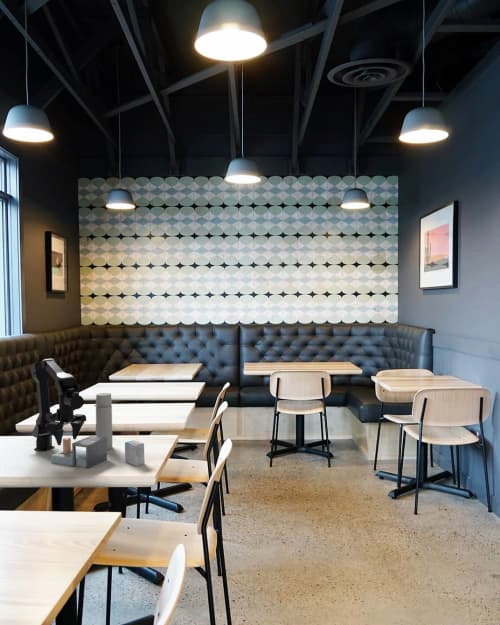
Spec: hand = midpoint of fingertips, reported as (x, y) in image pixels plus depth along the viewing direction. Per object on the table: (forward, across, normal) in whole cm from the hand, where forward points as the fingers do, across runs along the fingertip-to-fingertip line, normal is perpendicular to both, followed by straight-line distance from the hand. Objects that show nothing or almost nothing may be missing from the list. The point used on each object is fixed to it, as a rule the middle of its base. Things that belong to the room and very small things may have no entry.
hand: (67, 442), depth 211 cm
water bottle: (+8, -19, +4) cm, 21 cm away
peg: (+8, 0, 0) cm, 8 cm away
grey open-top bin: (+8, 0, +12) cm, 14 cm away
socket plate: (+8, 0, +5) cm, 9 cm away
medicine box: (+8, -6, +30) cm, 31 cm away
